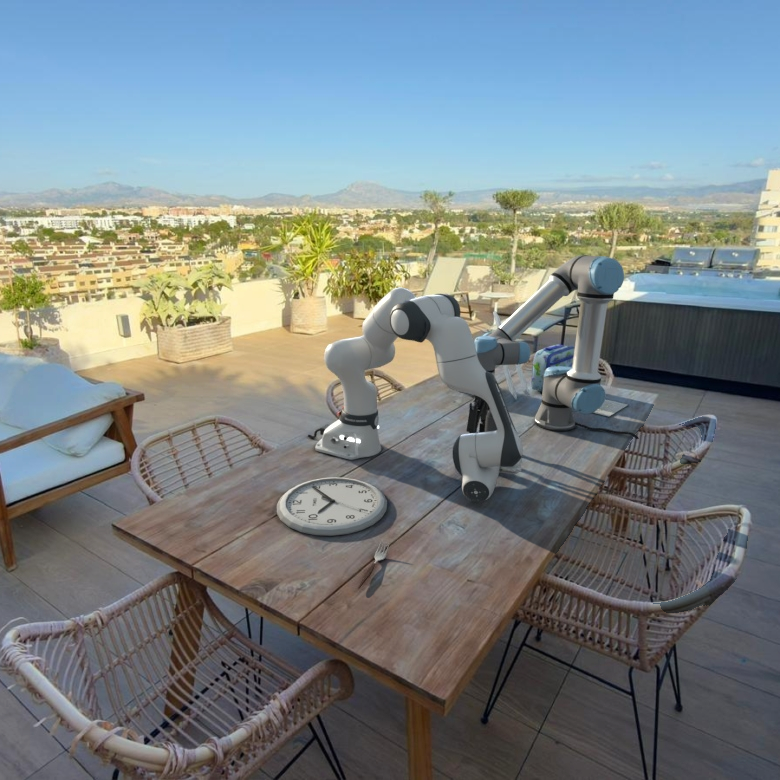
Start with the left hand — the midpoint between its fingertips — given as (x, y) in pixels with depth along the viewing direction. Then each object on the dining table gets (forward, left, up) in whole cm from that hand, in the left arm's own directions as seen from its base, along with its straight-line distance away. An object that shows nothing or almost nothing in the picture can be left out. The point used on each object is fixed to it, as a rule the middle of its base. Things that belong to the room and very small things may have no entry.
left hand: (490, 449), depth 165 cm
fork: (-18, -61, -6) cm, 64 cm away
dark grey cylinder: (0, -1, -6) cm, 6 cm away
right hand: (-6, +15, -6) cm, 17 cm away
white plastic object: (-15, +79, -6) cm, 80 cm away
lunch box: (+16, +96, -6) cm, 98 cm away
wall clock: (-37, -39, -6) cm, 54 cm away
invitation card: (+38, +77, -6) cm, 86 cm away
